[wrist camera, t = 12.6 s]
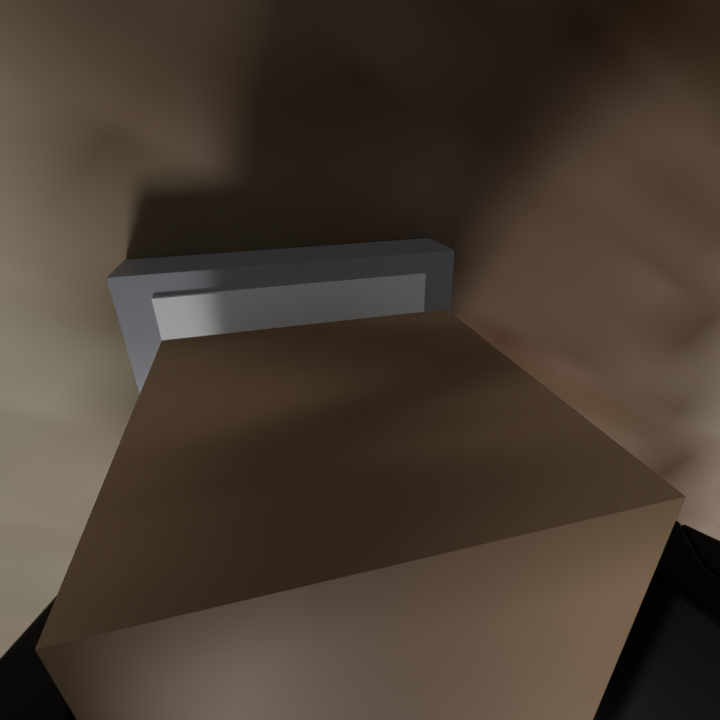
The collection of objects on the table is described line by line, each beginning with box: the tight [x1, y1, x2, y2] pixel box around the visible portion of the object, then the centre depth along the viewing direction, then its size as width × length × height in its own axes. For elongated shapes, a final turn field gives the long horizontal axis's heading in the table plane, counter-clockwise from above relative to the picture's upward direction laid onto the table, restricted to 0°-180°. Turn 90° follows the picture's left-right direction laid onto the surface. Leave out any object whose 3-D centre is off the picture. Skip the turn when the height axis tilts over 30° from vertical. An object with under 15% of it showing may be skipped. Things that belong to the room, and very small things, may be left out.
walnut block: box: [35, 309, 685, 720], centre depth 7 cm, size 5×5×5 cm
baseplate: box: [107, 238, 455, 393], centre depth 13 cm, size 7×17×2 cm, turn 1°
